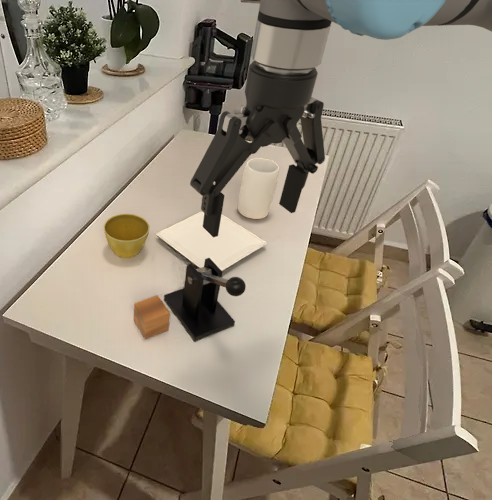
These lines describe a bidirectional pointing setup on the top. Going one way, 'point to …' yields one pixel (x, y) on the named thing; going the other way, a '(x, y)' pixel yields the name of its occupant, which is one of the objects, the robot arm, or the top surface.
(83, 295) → the top surface
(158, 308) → the brown wooden cube
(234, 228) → the plate
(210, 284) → the black lever base
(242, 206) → the cup
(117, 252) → the yellow bowl
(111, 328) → the top surface
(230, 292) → the lever
